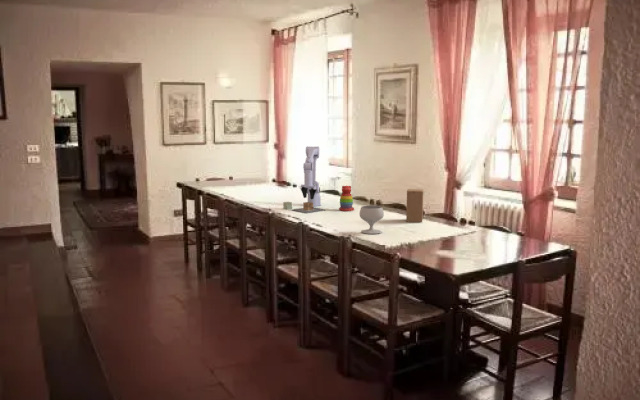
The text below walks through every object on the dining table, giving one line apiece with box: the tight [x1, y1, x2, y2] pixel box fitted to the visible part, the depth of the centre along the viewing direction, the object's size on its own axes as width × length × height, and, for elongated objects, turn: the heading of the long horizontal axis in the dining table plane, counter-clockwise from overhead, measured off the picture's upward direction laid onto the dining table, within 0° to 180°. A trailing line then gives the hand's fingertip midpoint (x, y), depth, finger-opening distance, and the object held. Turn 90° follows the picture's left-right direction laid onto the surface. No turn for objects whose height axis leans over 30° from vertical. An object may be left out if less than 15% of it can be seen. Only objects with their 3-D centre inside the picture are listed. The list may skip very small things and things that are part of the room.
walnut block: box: [302, 201, 314, 210], centre depth 400 cm, size 5×5×5 cm
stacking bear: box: [338, 185, 355, 212], centre depth 399 cm, size 11×10×18 cm
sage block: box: [282, 201, 293, 211], centre depth 407 cm, size 4×4×5 cm
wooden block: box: [405, 188, 424, 223], centre depth 359 cm, size 10×10×20 cm
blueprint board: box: [291, 206, 326, 214], centre depth 401 cm, size 18×16×1 cm
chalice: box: [359, 204, 385, 235], centre depth 325 cm, size 14×14×15 cm
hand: (308, 198), depth 399 cm, fingers open, 7 cm apart
